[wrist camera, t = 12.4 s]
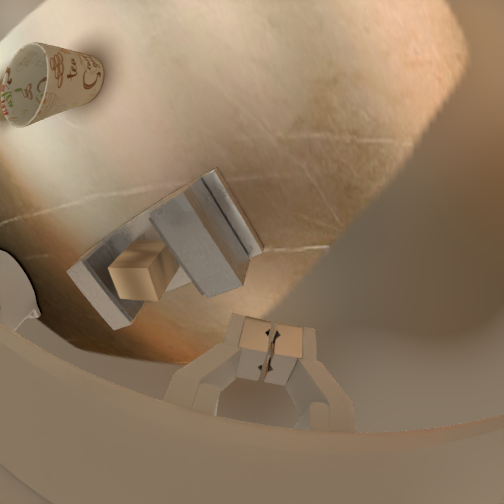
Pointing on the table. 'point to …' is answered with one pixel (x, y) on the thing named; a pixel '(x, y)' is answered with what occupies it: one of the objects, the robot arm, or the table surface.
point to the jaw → (201, 239)
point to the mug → (48, 83)
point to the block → (143, 270)
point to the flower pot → (0, 113)
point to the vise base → (140, 228)
